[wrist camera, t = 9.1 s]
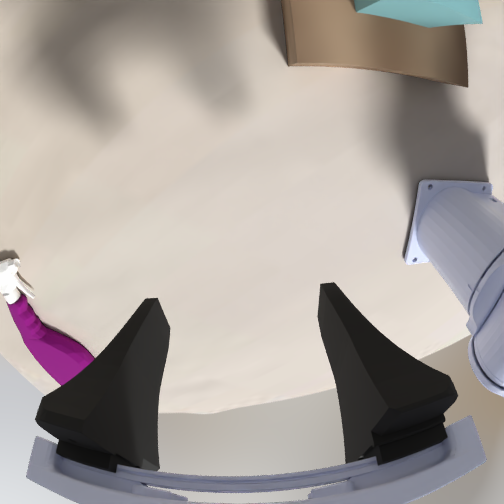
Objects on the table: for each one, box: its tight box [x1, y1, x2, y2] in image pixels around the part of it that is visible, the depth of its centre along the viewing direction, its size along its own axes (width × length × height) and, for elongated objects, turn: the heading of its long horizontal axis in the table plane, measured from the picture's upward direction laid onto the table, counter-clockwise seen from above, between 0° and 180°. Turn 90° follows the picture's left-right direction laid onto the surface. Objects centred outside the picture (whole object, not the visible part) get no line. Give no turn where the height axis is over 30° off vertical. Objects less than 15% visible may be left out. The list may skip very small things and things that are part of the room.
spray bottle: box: [0, 258, 95, 386], centre depth 27 cm, size 3×11×25 cm
